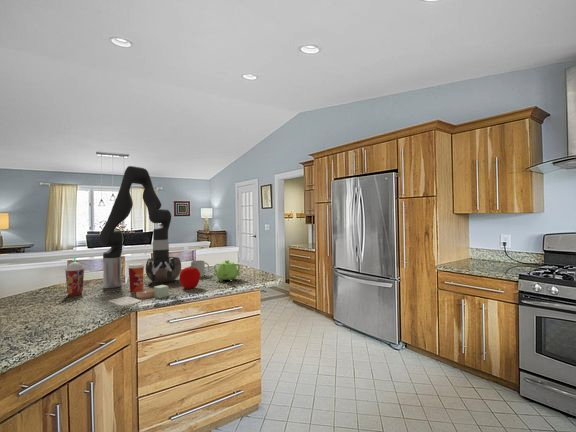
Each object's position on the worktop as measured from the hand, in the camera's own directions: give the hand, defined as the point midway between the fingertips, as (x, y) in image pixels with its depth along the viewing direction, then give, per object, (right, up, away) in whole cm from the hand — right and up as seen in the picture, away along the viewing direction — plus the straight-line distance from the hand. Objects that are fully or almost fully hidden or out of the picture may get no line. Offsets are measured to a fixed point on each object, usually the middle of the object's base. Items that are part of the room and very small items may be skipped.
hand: (161, 280), depth 159 cm
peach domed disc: (-8, -8, 0) cm, 12 cm away
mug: (+4, -8, +54) cm, 55 cm away
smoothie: (-49, -9, +7) cm, 50 cm away
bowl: (-13, -9, +37) cm, 40 cm away
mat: (-11, -9, -5) cm, 15 cm away
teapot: (+26, -9, +39) cm, 48 cm away
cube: (0, -8, 0) cm, 8 cm away
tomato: (+9, -9, +18) cm, 22 cm away
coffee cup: (-19, -9, +12) cm, 24 cm away
